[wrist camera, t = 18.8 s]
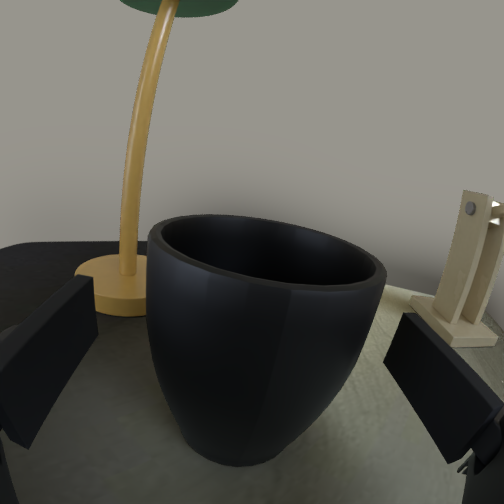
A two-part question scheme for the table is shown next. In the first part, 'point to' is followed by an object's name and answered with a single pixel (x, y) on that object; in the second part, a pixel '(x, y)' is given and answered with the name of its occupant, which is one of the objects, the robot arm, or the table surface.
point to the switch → (496, 214)
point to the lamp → (139, 167)
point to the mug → (254, 328)
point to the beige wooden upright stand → (466, 277)
